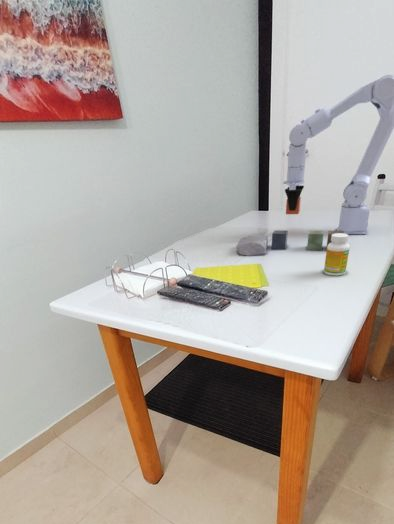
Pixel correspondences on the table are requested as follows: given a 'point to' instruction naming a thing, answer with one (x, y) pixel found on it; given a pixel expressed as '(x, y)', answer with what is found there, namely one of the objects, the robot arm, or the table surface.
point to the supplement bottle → (337, 254)
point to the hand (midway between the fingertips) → (293, 208)
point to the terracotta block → (295, 209)
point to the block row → (313, 239)
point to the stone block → (252, 245)
